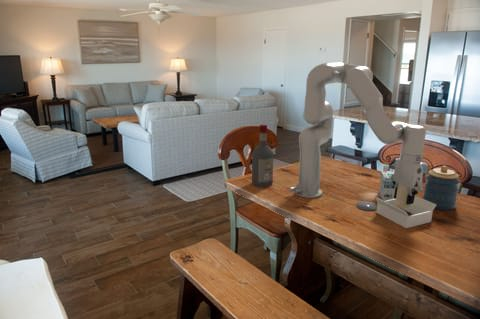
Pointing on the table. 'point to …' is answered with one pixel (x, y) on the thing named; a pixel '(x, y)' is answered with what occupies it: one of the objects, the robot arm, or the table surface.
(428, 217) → the white open box
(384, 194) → the light bulb box
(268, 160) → the liquor
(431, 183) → the canister
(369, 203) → the grey ellipsoid
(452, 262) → the table surface
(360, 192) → the table surface
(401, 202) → the candle
